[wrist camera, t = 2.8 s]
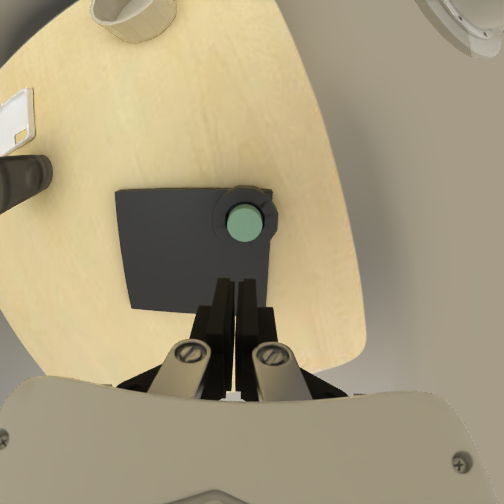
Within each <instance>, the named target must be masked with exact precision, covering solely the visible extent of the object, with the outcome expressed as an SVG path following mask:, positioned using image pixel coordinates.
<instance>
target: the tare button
mask: <svg viewBox="0 0 504 504" xmlns="http://www.w3.org/2000/svg"><path fill="white" fill-rule="evenodd" d="M227 229H228V232H229V233H230V235H231V236H232V237H233V238H234V239H236V240H238V241H242V242H248V241H251V240H253V239H255V238H256V237H257V236H258V235H259V234H260V232H261V230H262V219H261V214H260V212H259V211H258V210H257V209H256V208H255V207H254V206H252V205H249V204H241V205H238V206H236V207H235V208H233V209H232V211H231V212H230V214H229V217H228V221H227Z"/></svg>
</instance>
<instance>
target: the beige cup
mask: <svg viewBox="0 0 504 504" xmlns="http://www.w3.org/2000/svg"><path fill="white" fill-rule="evenodd" d="M176 11H177V6H176V2H175V0H92V3H91V7H90V14H91V18H92V20H93V21H95V22H96V23H97V24H99V25H100V26H102V27H103V28H105V29H106V30H108V31H109V32H111V33H112V34H114V35H115V36H117V37H118V38H120V39H121V40H123V41H126V42H130V43H138V42H143V41H147V40H149V39H152V38H154V37H156V36H157V35H159V34H160V33H162V32H163V31H164V30H165V29H166V28H167V27H168V26H169V25H170V24H171V22H172V21H173V19H174V17H175V15H176Z"/></svg>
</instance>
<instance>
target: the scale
mask: <svg viewBox="0 0 504 504" xmlns="http://www.w3.org/2000/svg"><path fill="white" fill-rule="evenodd" d="M272 194H273V191H272V189H259V188H257V187H256V186H239V185H238V186H236V187H234V188H154V189H128V190H118V191H116V192H115V201H116V212H117V222H118V231H119V239H120V247H121V253H122V260H123V266H124V272H125V278H126V283H127V289H128V294H129V299H130V304H131V308H132V309H142V310H153V311H166V312H179V313H195V314H196V313H197V309H198V306H199V305H208V306H212V302H213V297H214V293H215V288H216V283H217V279H218V278H230V281H235V315H236V314H237V298H238V283H239V281H241V282H243V280H244V278H248V279H256V294H257V307H266V294H267V279H268V264H269V247H270V240H271V239H272V237H273V236H274V234H275V233H276V231H277V225H278V212H277V209H276V207H275V205H274V203H273V202H272ZM241 204H249V205H252V206H254V207H255V208H256V209H257V210H258V211H259V212H260V214H261V219H262V230H261V232H260V234H259V235H258V236H257V237H256V238H255V239H253V240H251V241H248V242H242V241H238V240H236V239H234V238H233V237H232V236H231V235H230V233H229V232H228V229H227V221H228V217H229V214H230V212H231V211H232V209H233V208H235V207H236V206H238V205H241Z"/></svg>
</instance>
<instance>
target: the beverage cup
mask: <svg viewBox="0 0 504 504" xmlns="http://www.w3.org/2000/svg"><path fill="white" fill-rule="evenodd" d="M52 173H53V172H52V166H51V162H50V161H49V159H48V158H47V157H46V156H44V155H19V156H4V157H0V214H2V213H4V212H5V211H7V210H9V209H11V208H12V207H14V206H16V205H18V204H19V203H21V202H23V201H25V200H27V199H29V198H30V197H32V196H34V195H36V194H38V193H39V192H41V191H42V190H45V189H46V188H47V187H48V186H49V184H50V182H51V180H52Z"/></svg>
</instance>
